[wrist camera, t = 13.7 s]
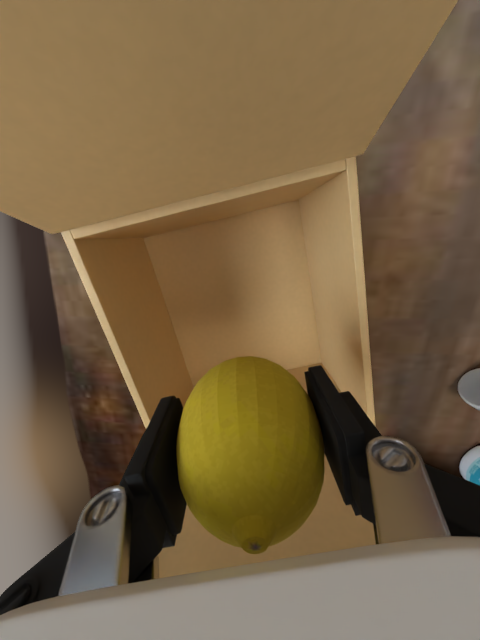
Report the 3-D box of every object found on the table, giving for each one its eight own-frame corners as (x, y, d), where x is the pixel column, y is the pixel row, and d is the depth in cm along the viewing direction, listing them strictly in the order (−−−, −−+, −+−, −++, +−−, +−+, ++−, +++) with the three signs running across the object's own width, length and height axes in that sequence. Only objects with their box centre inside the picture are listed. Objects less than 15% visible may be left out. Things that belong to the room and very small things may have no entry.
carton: (138, 234, 23) (-234, 223, 5) (302, 192, 22) (600, -12, 4) (194, 397, 28) (118, 675, 10) (326, 370, 27) (495, 626, 9)
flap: (52, 234, 12) (50, 226, 12) (363, 154, 11) (361, 146, 11) (-409, 32, 4) (-412, 6, 4) (683, -360, 3) (672, -391, 3)
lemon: (316, 368, 14) (414, 531, 6) (254, 433, 15) (271, 634, 7) (234, 310, 13) (229, 421, 5) (176, 387, 14) (103, 565, 6)
